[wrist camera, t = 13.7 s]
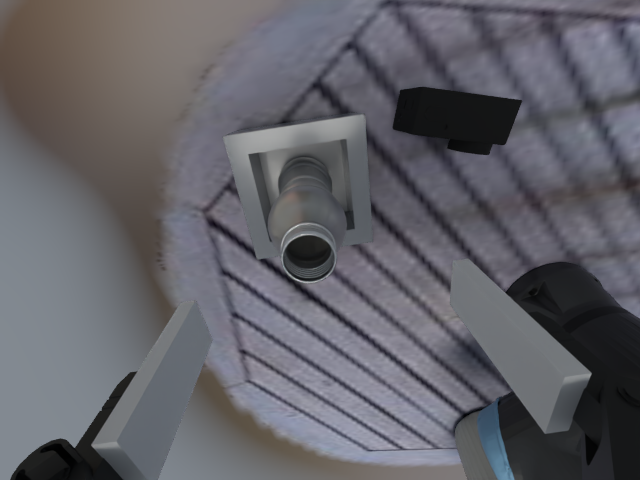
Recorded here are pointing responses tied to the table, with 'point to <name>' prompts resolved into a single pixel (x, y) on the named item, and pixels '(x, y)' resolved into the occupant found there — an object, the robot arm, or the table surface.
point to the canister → (472, 450)
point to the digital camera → (456, 117)
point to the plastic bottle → (307, 221)
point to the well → (294, 142)
